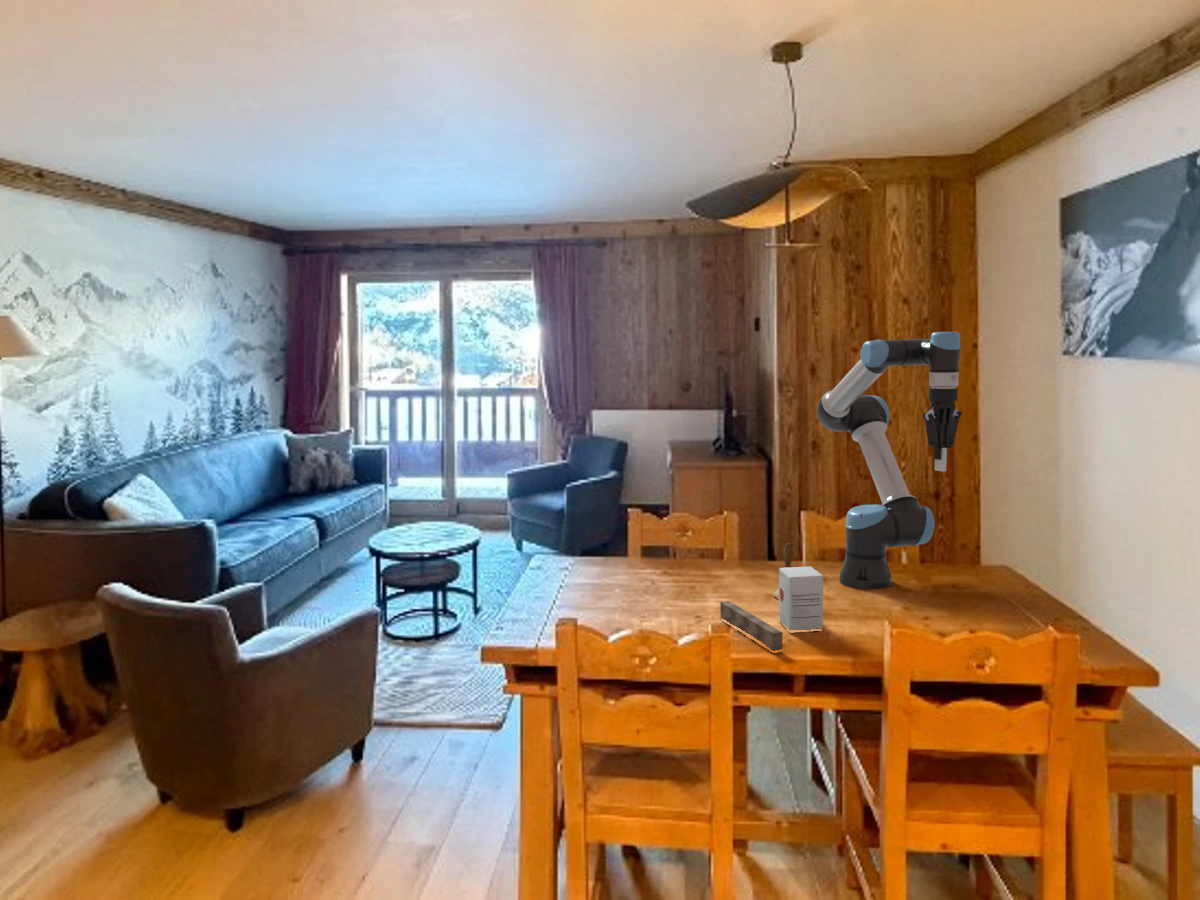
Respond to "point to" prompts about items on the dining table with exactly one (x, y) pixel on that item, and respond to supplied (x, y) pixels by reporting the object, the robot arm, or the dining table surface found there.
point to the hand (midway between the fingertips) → (940, 470)
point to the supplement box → (801, 598)
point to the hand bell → (786, 561)
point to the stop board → (752, 625)
